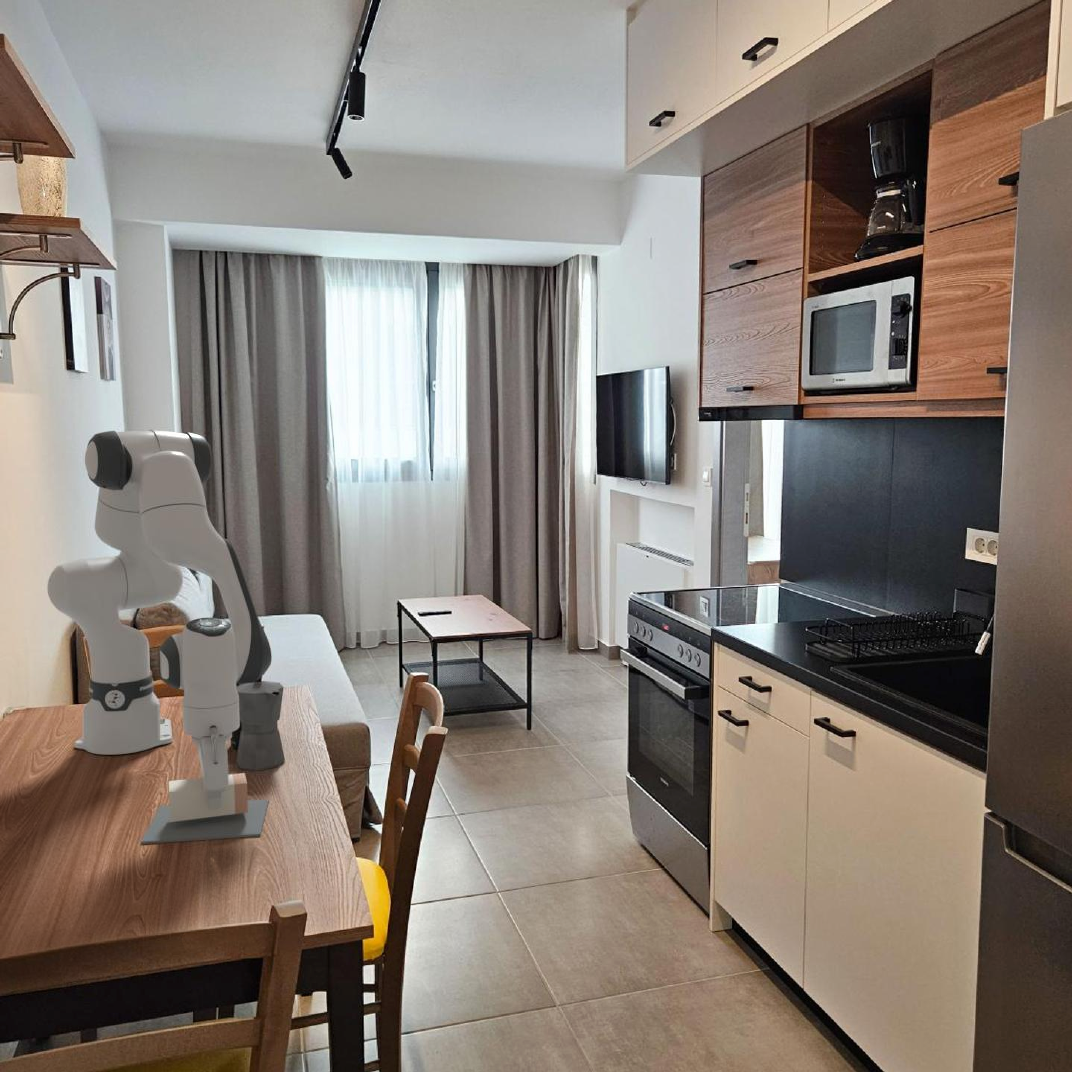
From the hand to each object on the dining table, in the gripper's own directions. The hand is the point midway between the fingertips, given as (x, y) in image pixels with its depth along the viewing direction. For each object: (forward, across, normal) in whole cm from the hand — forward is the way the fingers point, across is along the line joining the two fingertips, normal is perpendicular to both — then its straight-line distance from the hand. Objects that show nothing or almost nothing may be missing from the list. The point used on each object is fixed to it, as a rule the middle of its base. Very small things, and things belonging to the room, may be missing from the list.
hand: (213, 800), depth 162 cm
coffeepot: (+4, +28, -10) cm, 30 cm away
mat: (+4, 0, +1) cm, 4 cm away
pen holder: (+4, +39, -10) cm, 41 cm away
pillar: (-1, 0, +7) cm, 7 cm away
